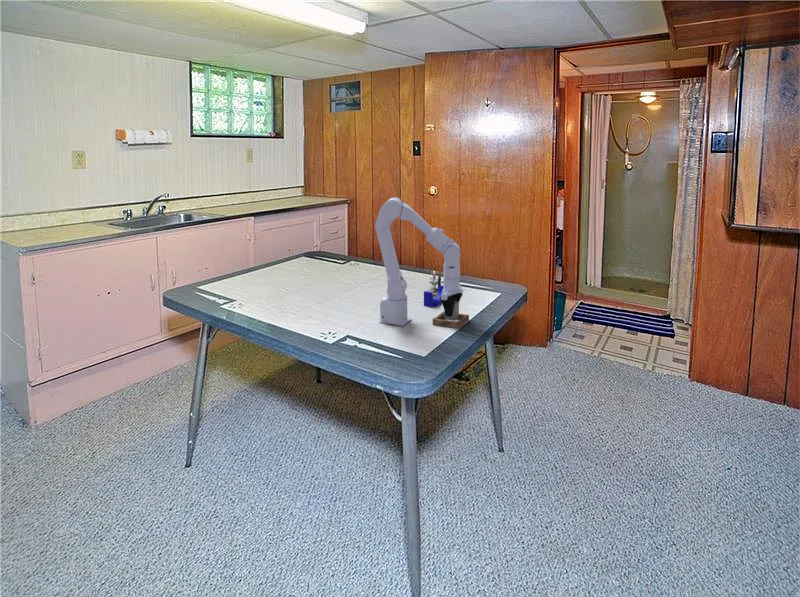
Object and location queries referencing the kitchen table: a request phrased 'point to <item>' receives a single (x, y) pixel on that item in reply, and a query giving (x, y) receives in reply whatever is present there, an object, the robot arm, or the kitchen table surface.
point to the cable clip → (431, 301)
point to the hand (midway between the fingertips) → (451, 314)
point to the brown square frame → (440, 322)
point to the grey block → (455, 312)
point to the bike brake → (434, 284)
